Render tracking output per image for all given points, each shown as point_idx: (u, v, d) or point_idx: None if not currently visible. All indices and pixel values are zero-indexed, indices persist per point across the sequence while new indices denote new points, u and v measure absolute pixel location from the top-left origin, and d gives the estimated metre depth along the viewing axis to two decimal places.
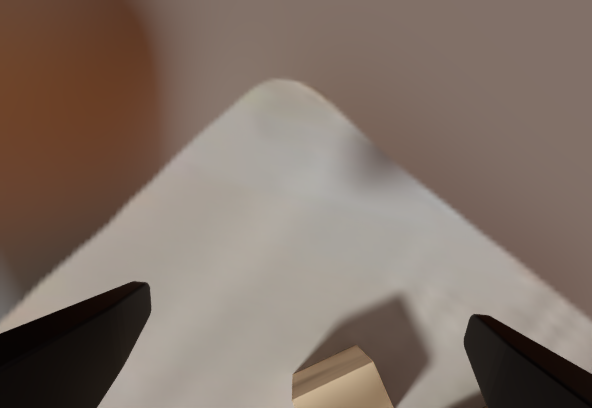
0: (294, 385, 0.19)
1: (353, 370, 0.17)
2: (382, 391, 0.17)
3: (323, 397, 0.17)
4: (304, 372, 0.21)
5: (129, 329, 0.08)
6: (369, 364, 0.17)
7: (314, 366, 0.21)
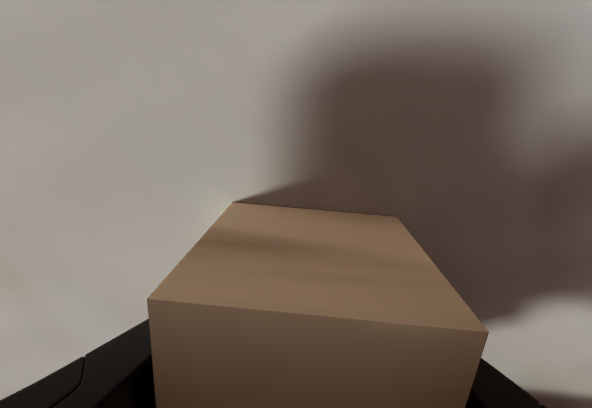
0: (208, 238, 0.07)
1: (403, 322, 0.04)
2: None
3: (256, 342, 0.05)
4: (255, 214, 0.08)
5: None
6: (468, 332, 0.04)
7: (284, 213, 0.09)
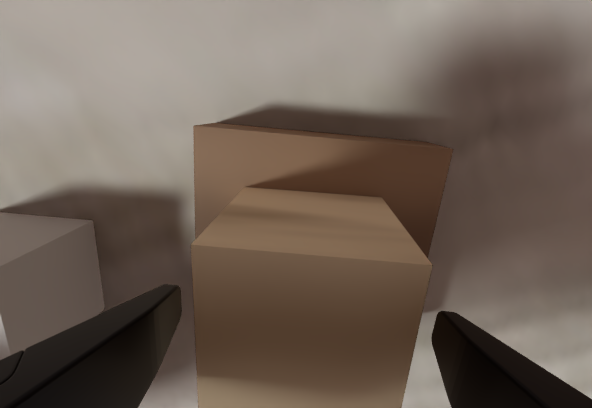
0: (228, 210, 0.09)
1: (371, 259, 0.06)
2: (409, 327, 0.07)
3: (268, 276, 0.06)
4: (264, 195, 0.10)
5: (163, 332, 0.08)
6: (418, 266, 0.06)
7: (287, 194, 0.10)
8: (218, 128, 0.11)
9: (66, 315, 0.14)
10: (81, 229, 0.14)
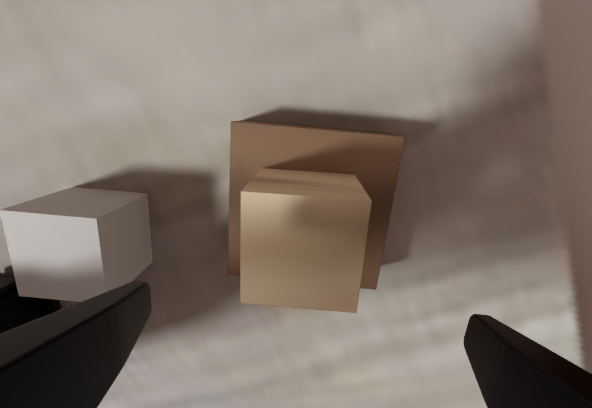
0: (255, 178, 0.14)
1: (339, 197, 0.12)
2: (361, 238, 0.12)
3: (282, 208, 0.12)
4: (276, 172, 0.15)
5: (129, 329, 0.08)
6: (364, 201, 0.12)
7: (291, 172, 0.16)
8: (247, 123, 0.16)
9: (131, 260, 0.19)
10: (141, 199, 0.19)
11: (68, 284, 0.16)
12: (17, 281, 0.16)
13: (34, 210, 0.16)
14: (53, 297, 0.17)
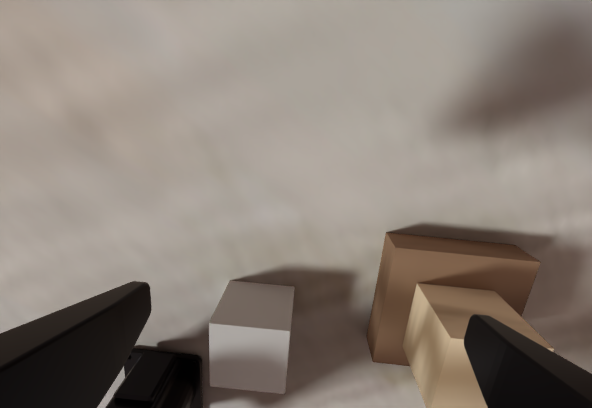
0: (435, 309, 0.17)
1: None
2: None
3: None
4: (436, 292, 0.19)
5: (129, 329, 0.08)
6: (547, 348, 0.15)
7: (446, 291, 0.19)
8: (408, 248, 0.19)
9: None
10: (293, 294, 0.22)
11: (254, 378, 0.20)
12: (211, 375, 0.20)
13: (234, 321, 0.19)
14: (239, 388, 0.20)
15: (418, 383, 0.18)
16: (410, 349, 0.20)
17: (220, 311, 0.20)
